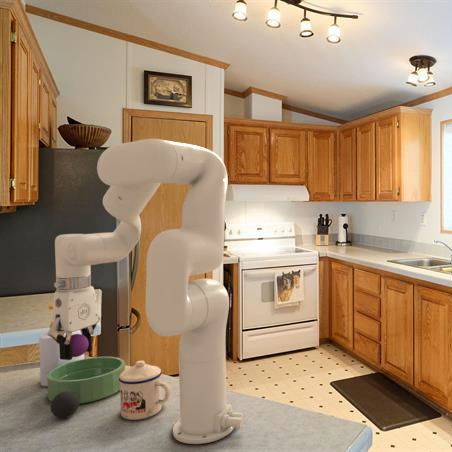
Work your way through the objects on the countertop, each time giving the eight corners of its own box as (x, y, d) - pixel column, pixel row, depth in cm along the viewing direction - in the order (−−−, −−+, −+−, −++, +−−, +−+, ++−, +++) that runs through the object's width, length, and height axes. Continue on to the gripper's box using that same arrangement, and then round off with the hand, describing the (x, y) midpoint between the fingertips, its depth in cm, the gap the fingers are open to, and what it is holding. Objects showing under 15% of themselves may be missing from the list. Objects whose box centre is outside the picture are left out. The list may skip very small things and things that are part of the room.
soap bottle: (69, 368, 128) (66, 300, 128) (93, 369, 127) (90, 301, 126) (31, 386, 115) (28, 311, 115) (57, 388, 114) (54, 311, 113)
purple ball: (94, 353, 110) (93, 331, 110) (76, 361, 105) (75, 338, 104) (76, 352, 111) (75, 330, 111) (57, 359, 106) (57, 336, 106)
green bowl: (140, 380, 118) (139, 358, 118) (89, 409, 101) (88, 384, 100) (86, 375, 122) (86, 354, 122) (30, 402, 105) (29, 378, 105)
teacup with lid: (110, 418, 96) (109, 367, 96) (137, 401, 105) (136, 353, 104) (157, 424, 93) (156, 371, 93) (181, 405, 102) (180, 357, 101)
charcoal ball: (85, 412, 99) (84, 388, 99) (65, 423, 94) (64, 398, 94) (65, 409, 101) (64, 386, 101) (44, 421, 95) (43, 396, 95)
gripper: (57, 290, 98) (59, 368, 99) (111, 278, 115) (113, 345, 115) (30, 289, 100) (33, 366, 101) (88, 277, 117) (90, 343, 117)
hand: (76, 354), depth 108 cm, fingers closed on purple ball, 5 cm apart
